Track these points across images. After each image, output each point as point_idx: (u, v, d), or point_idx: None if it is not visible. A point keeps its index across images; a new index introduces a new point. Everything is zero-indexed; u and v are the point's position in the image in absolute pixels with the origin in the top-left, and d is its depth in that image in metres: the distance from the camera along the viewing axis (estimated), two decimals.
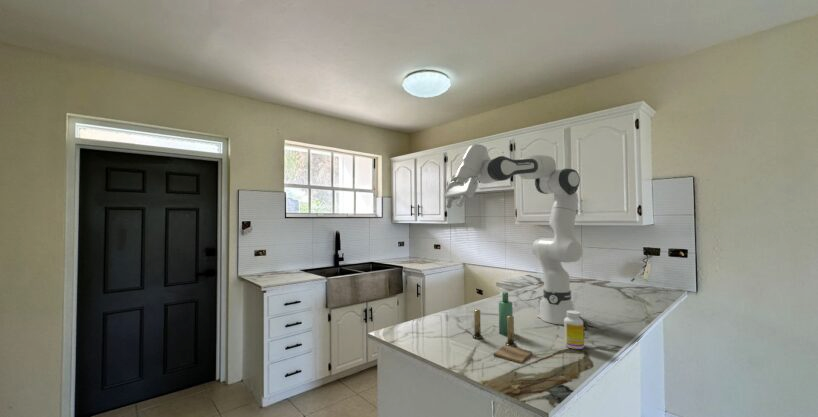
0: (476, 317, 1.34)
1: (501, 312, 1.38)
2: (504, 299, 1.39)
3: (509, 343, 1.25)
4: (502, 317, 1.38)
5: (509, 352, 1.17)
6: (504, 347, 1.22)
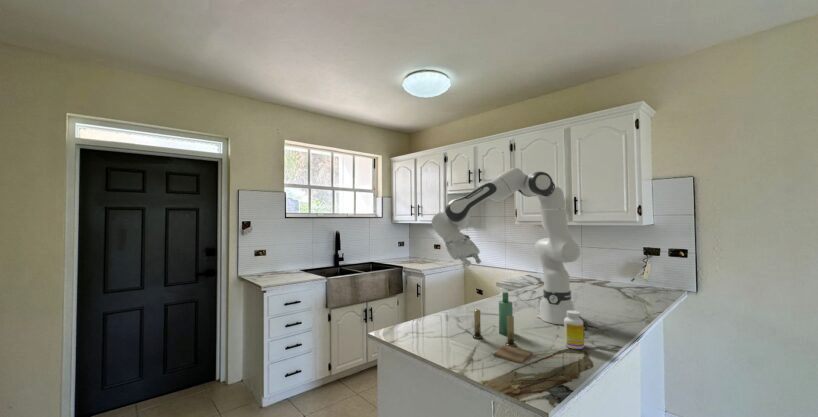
0: (476, 317, 1.34)
1: (501, 312, 1.38)
2: (504, 299, 1.39)
3: (509, 343, 1.25)
4: (502, 317, 1.38)
5: (509, 352, 1.17)
6: (504, 347, 1.22)
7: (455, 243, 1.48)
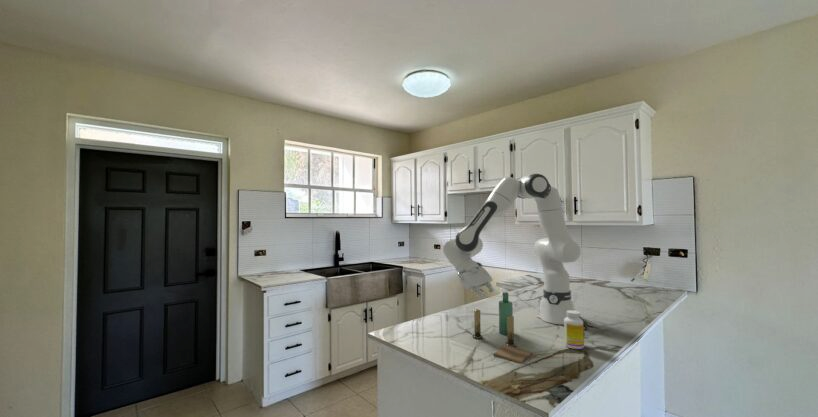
0: (476, 317, 1.34)
1: (501, 312, 1.38)
2: (504, 299, 1.39)
3: (509, 343, 1.25)
4: (502, 317, 1.38)
5: (509, 352, 1.17)
6: (504, 347, 1.22)
7: (468, 273, 1.46)
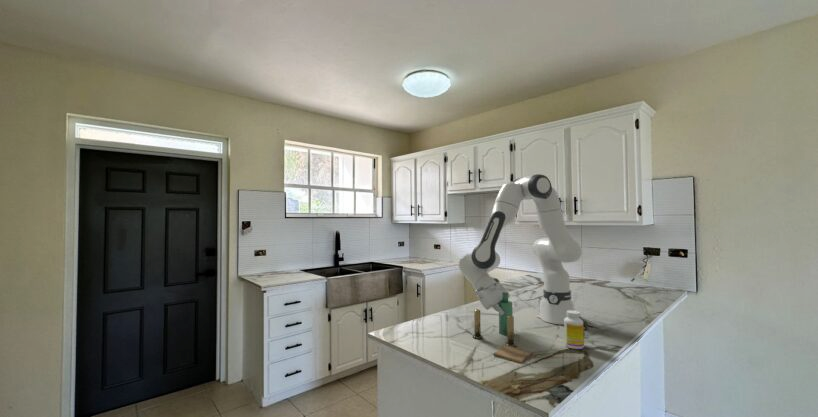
0: (476, 317, 1.34)
1: None
2: (504, 299, 1.39)
3: (509, 343, 1.25)
4: (501, 317, 1.38)
5: (509, 352, 1.17)
6: (504, 347, 1.22)
7: (486, 290, 1.40)
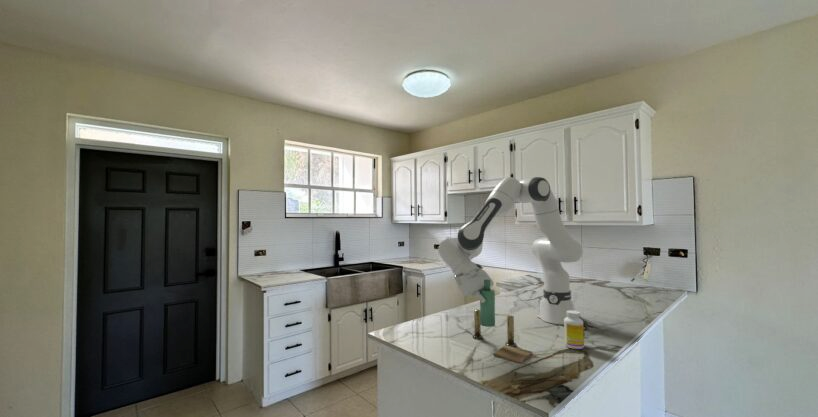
0: (476, 317, 1.34)
1: None
2: (486, 287, 1.27)
3: (509, 343, 1.25)
4: (483, 306, 1.26)
5: (509, 352, 1.17)
6: (504, 347, 1.22)
7: (466, 276, 1.27)
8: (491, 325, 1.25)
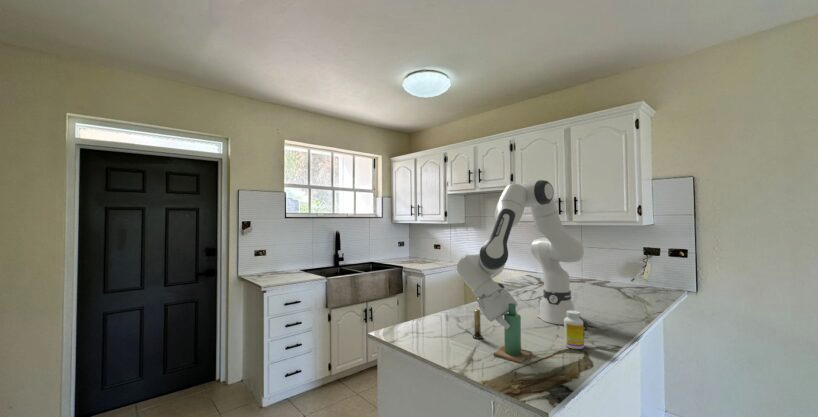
0: (476, 317, 1.34)
1: None
2: (511, 312, 1.17)
3: None
4: (508, 333, 1.16)
5: None
6: (504, 347, 1.22)
7: (489, 298, 1.18)
8: (517, 354, 1.15)
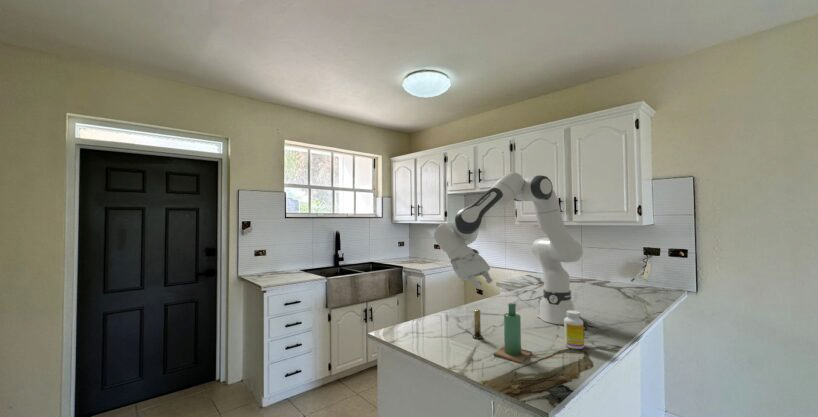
0: (476, 317, 1.34)
1: (507, 327, 1.16)
2: (511, 312, 1.17)
3: None
4: (508, 333, 1.16)
5: None
6: (504, 347, 1.22)
7: (462, 260, 1.26)
8: (517, 354, 1.15)
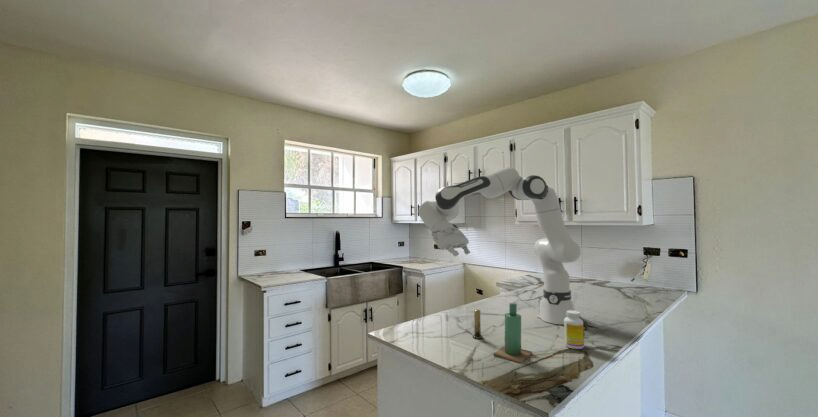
0: (476, 317, 1.34)
1: (508, 327, 1.16)
2: (511, 312, 1.17)
3: None
4: (508, 333, 1.16)
5: None
6: (504, 347, 1.22)
7: (442, 232, 1.40)
8: (517, 354, 1.15)
